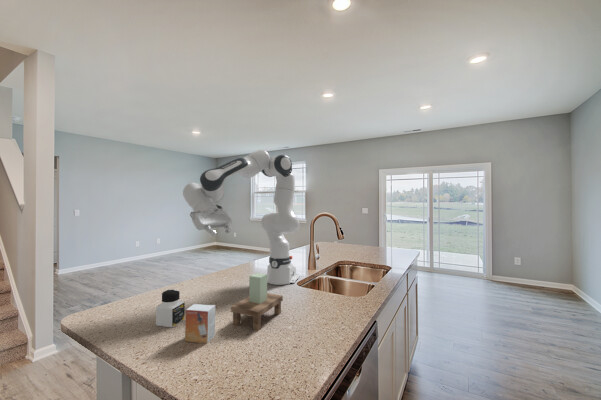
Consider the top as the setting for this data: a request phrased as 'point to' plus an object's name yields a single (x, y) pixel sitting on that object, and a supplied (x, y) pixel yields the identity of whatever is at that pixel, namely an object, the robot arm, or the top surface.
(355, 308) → the top surface
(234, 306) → the stool
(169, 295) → the medicine bottle
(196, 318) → the small box
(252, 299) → the green block
